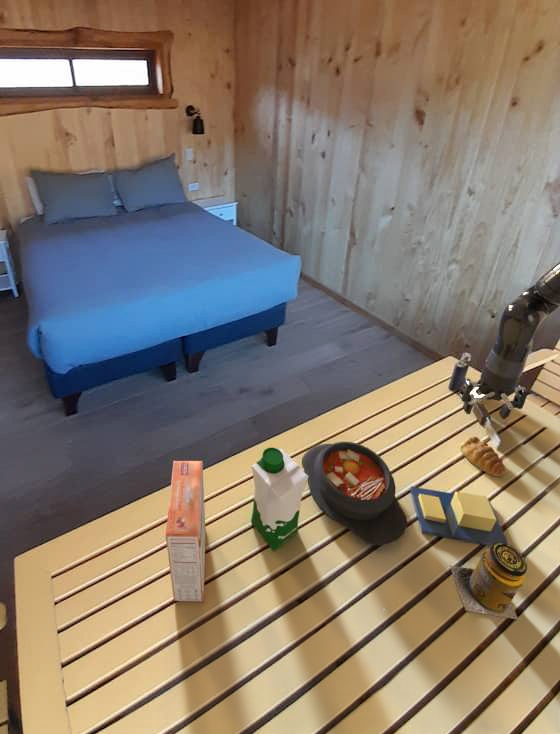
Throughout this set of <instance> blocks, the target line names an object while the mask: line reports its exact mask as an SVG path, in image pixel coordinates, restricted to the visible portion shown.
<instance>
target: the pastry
mask: <svg viewBox="0 0 560 734" xmlns="http://www.w3.org/2000/svg"><path fill="white" fill-rule="evenodd" d="M459 448H460V451H461V453H462V455H463V456H464V457H465V458H466V459H467V460H468V461H469V462H470V463H472V464H473V465H475V467H477V468H479V469H480V470H481V471H483V472H484V473H486V474H489V475H490V476H491V475H492V476H493V477H500V476H502V475H503V474H504V473H506V467H505V465H504V463H503V460H502V459H501V458H500V457H499V454H498V453H497V452H495V450H494V448H493V447H492V446H489V444H488V443H487V442H486V440H481V439H480V438H479V437H477V436H475V435H474V436H470V437H468V438H467V439H465V440H464V441H463V442H461V444H460V445H459Z"/></svg>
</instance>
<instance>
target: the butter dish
mask: <svg viewBox="0 0 560 734" xmlns="http://www.w3.org/2000/svg"><path fill="white" fill-rule="evenodd" d="M409 491H410V495H411V498H412V502H413V506H414V510H415V514H416V517H417V522H418V524H419V528H421V529H420V532H421V534H424V533H426V534H425V535H429V534H430V535H429V536H435V537H440V538H446V539H450V538H451V540H455V541H462V542H466V543H472V544H476V545H481V546H486V547H487V546H488V547H490V545H492V543H494V542H498V541H499V542H505V543H507V544H509V542H508V539H507V537H506V534H505V532H504V530H503V528H502V526H501V523H500V521H499V519H498V516H497V515H496V512H495V510H494V507H493V506H492V502H491V501H490V499H488V497H487V496H485V495H480V494H475V493H468V492H463V491H456V490H455V491H454V493H451V492H446V491H440V490H435V489H428V488H422V487H417V486H410V488H409ZM419 494H424V495H429V496H434V497H439V499H440V502H441V505H442V508H443V511H444V514H445V517H446V521H445V523H443V522H438V521H433V520H428V519H424V516H423V512H422V509H421V505H420V502H419V498H418V496H419Z"/></svg>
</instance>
